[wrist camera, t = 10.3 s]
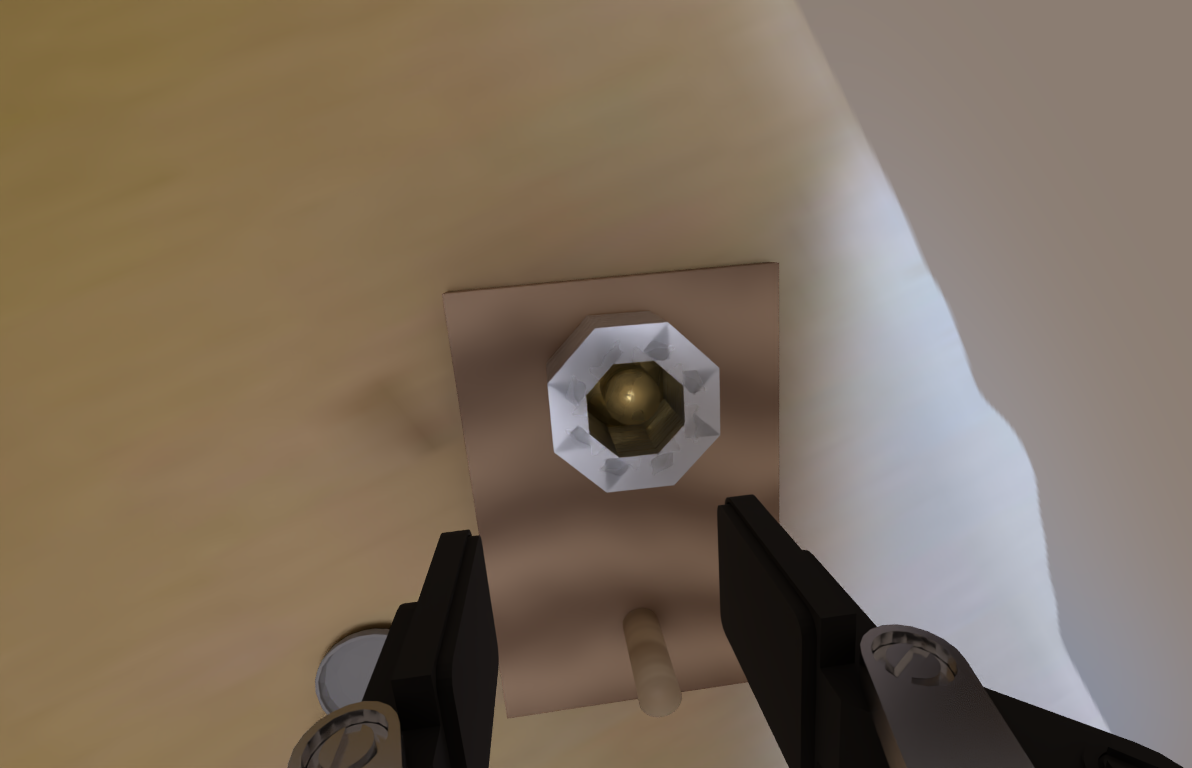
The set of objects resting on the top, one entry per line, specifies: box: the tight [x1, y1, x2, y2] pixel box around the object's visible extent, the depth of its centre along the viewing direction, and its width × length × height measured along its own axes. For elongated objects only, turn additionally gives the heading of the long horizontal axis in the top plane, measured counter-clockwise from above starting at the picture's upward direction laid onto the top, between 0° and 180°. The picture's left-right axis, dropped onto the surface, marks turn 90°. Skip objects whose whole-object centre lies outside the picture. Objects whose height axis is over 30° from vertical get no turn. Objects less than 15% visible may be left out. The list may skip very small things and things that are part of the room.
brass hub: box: [586, 361, 664, 427], centre depth 25 cm, size 7×7×3 cm
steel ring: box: [546, 311, 720, 492], centre depth 24 cm, size 7×7×4 cm
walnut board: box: [442, 262, 779, 718], centre depth 29 cm, size 24×16×1 cm, turn 5°
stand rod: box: [623, 608, 682, 717], centre depth 28 cm, size 2×2×5 cm
